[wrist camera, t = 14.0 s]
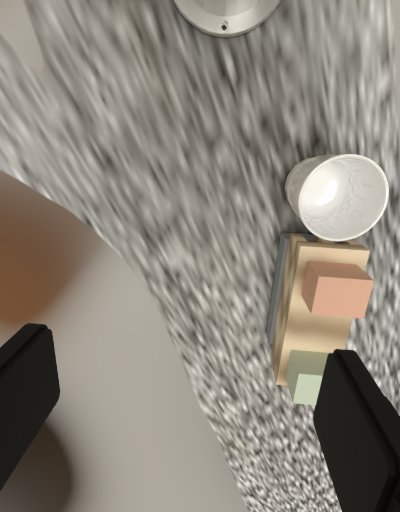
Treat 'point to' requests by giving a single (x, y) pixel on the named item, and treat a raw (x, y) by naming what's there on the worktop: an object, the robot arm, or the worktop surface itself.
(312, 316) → the long beige board
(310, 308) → the salmon square box
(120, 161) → the worktop surface
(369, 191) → the white cup
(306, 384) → the pale green block
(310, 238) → the dock
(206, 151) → the worktop surface
